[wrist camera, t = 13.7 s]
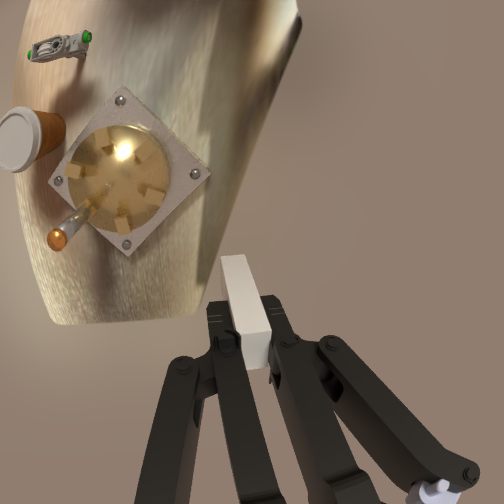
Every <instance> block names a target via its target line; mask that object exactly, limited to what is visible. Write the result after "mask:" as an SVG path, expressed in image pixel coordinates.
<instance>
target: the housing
mask: <svg viewBox="0 0 504 504" xmlns="http://www.w3.org/2000/svg"><path fill="white" fill-rule="evenodd" d="M114 125H132V126H136V127H139V128H142V129H144V130H146V131H147V132H149V133H150V134H152V135H153V136H154V137H155V138H156V139H157V140H158V141H159V143H160V144H161V145H162V147H163V149H164V150H165V153H166V155H167V158H168V161H169V166H170V184H169V188H168V191H167V194H166V197H165V199H164V201H163V203H162V205H161V207H160V208H159V210H158V211H157V213H156V214H155V215H154V216H153V217H152V219H150V220H149V221H148V222H147V223H145V224H144V225H142V226H141V227H139V228H136V229H134V230H133V231H132V232H131V234H125V235H120V236H119V235H118V232H110V231H105V230H102V229H99V228H97V227H95V226H94V225H92V224H91V223H90V224H91V225H92V226H93V227H94V228H95V229H96V230H98V231H99V232H100V233H101V234H102V235H103V236H104V237H105V238H107V239H108V240H109V241H110V242H111V243H112V244H113V245H115V246H116V247H117V248H118V249H119V250H120V251H122V252H123V253H124V254H125V255H126V256H127V257H129V256H130V255H131V254H132V253H133V252H134V251H135V250H136V249H137V247H138V246H139V245H140V244H141V243H142V242H143V241H144V240H145V239H146V238H147V237H148V236H149V235H150V234H151V233H152V231H153V230H154V229H155V228H156V227H157V226H158V225H159V224H160V223H161V222H162V221H163V220H164V219H165V218H166V217H167V216H168V215H169V214H170V213H171V212H172V211H173V210H174V209H175V208H176V207H177V206H178V205H179V204H180V203H181V202H182V201H183V200H184V199H185V198H186V197H187V196H188V195H189V194H190V193H191V192H193V191H194V190H195V189H196V188H197V187H198V186H199V185H200V184H201V183H202V182H203V181H204V180H205V179H206V178H207V177H209V176H210V175H211V170H210V169H209V168H208V167H207V166H206V165H205V164H204V163H203V162H202V161H201V160H200V159H199V158H198V157H197V156H196V155H195V154H194V153H193V152H192V151H191V150H190V149H189V148H188V147H187V146H186V145H185V144H184V143H183V142H182V141H181V140H180V139H179V138H178V137H177V136H176V135H175V134H174V133H173V132H172V131H171V130H170V129H169V128H168V127H167V126H166V125H165V124H164V123H163V122H162V121H161V120H160V119H159V118H158V117H157V116H156V115H155V114H154V113H152V112H151V111H150V110H149V109H148V108H147V107H146V106H145V105H144V104H143V103H142V102H141V101H140V100H139V99H138V98H137V97H136V96H135V95H134V94H133V93H132V92H131V91H130V90H129V89H128V88H127V87H124V86H121V87H120V88H119V89H118V90H117V91H116V92H115V93H114V94H113V95H112V96H111V97H110V99H109V100H108V101H107V102H106V103H105V104H104V105H103V107H102V108H101V109H100V110H99V111H98V112H97V114H96V115H95V116H94V117H93V118H92V120H91V121H90V122H89V123H88V125H87V126H86V127H85V129H84V130H83V131H82V132H81V134H80V135H79V136H78V138H77V139H76V140H75V142H74V143H73V145H72V146H71V147H70V149H69V150H68V152H67V153H66V155H65V156H64V157H63V159H62V160H61V162H60V163H59V165H58V167H57V168H56V170H55V171H54V173H53V174H52V176H51V178H50V179H49V181H48V183H49V184H50V185H51V186H52V187H53V188H54V189H55V190H56V191H57V192H58V193H59V194H60V195H61V196H62V197H63V198H64V199H65V200H66V201H67V202H68V203H69V204H70V205H71V206H72V207H73V208H74V209H75V210H76V207H75V206H74V204H73V202H72V199H71V197H70V193H69V189H68V176H65V175H64V173H65V168H66V163H67V162H68V161H71V158H72V156H73V154H74V152H75V150H76V149H77V147H78V146H79V144H80V143H81V142H82V141H83V140H84V139H85V138H86V137H87V136H89V135H90V134H91V133H93V132H94V131H95V130H98V129H101V128H104V127H108V126H114Z"/></svg>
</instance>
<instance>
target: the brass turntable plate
mask: <svg viewBox="0 0 504 504" xmlns="http://www.w3.org/2000/svg"><path fill="white" fill-rule="evenodd" d="M64 175H65V176H68V189H69V193H70V197H71V199H72V202H73V204H74V206H75V207H76V210H75V211H74V212H73V213H72V214H71V215H69V216H68V217H67V218H66V219H65V220H64V221H63V222H62V223H61V224H60V225H58V226H57V227H56V228H55V229H53V230H52V231H51V232H50V233H49V234H48V236H47V243H48V245H49V247H50V248H51V249H52V250H54V251H61V250H62V249H63V248H64V247H65V246H66V244H67V242H68V241H69V240H70V239H71V238H72V237H73V235H74V234H75V233H76V232H77V231H78V230H79V229H80V228H81V227H82V226H83V225H85V224H86V223H87V222H89V223H91V224H92V225H94V226H95V227H97V228H99V229H102V230H105V231H110V232H118V235H119V236H120V235H125V234H131V232H132V231H133V230H134V229H136V228H139V227H141V226H142V225H144V224H145V223H147V222H148V221H149V220H150V219H152V217H153V216H154V215H155V214H156V213H157V211H158V210H159V208H160V207H161V205H162V203H163V201H164V199H165V197H166V194H167V191H168V188H169V184H170V166H169V161H168V158H167V155H166V153H165V150H164V149H163V147H162V145H161V144H160V143H159V141H158V140H157V139H156V138H155V137H154V136H153V135H152V134H150V133H149V132H147V131H146V130H144V129H142V128H139V127H136V126H132V125H114V126H108V127H104V128H101V129H98V130H95V131H94V132H93V133H91V134H90V135H89V136H87V137H86V138H85V139H84V140H83V141H82V142H81V143H80V144H79V146H78V147H77V149H76V150H75V152H74V154H73V156H72V158H71V161H68V162H67V163H66V168H65V173H64Z"/></svg>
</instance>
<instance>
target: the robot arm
mask: <svg viewBox="0 0 504 504" xmlns="http://www.w3.org/2000/svg"><path fill="white" fill-rule="evenodd" d="M220 259H221V260H220V261H221V285H222V295H223V300H224V301H215V302H209V304H208V306H207V308H206V310H207V320H208V329H209V337H210V344H211V345H210V349H209V350H208V352H207V353H206V354H205V355H203V356H201V357H198V358H196V359H193V358H192V357H188V356H180V357H177V358H175V359H174V360H172V361H171V363H170V365H169V367H168V370H167V374H166V377H165V381H164V384H163V387H162V391H161V395H160V398H159V402H158V406H157V409H156V413H155V417H154V421H153V424H152V429H151V433H150V436H149V440H148V444H147V448H146V452H145V456H144V461H143V465H142V469H141V474H140V478H139V483H138V487H137V492H136V497H135V502H134V504H189V499H190V492H191V485H192V478H193V472H194V465H195V458H196V451H197V445H198V438H199V432H200V425H201V419H202V413H203V407H204V400H205V398H207V397H210V396H212V395H215V394H217V393H218V399H219V405H220V411H221V417H222V422H223V427H224V433H225V438H226V444H227V448H228V454H229V458H230V463H231V468H232V473H233V477H234V482H235V486H236V491H237V495H238V499H239V503H240V504H286V501H285V499H284V497H283V496H282V494H281V492H280V490H279V487H278V483H277V480H276V477H275V473H274V470H273V466H272V463H271V460H270V456H269V453H268V449H267V446H266V442H265V438H264V435H263V431H262V428H261V424H260V420H259V417H258V413H257V409H256V405H255V401H254V397H253V394H252V390H251V386H250V382H249V378H248V374H247V370H250V369H258V368H264V367H268V362H269V365H270V368H271V369H270V376H269V384H271V382H272V383H273V386H274V389H275V393H276V396H277V399H278V402H279V405H280V408H281V412H282V414H283V418H284V421H285V424H286V427H287V430H288V433H289V436H290V439H291V442H292V445H293V449H294V452H295V455H296V457H297V461H298V463H299V467H300V470H301V472H302V476H303V479H304V481H305V484H306V487H307V490H308V502H309V504H386V503H383V502H381V501H380V499H379V497H378V495H377V493H376V490H375V488H374V486H373V483H372V481H371V479H370V477H369V475H368V474H367V473H366V472H365V471H363V470H361V469H359V467H358V466H357V464H356V461H355V459H354V457H353V455H352V452H351V450H350V448H349V445H348V443H347V441H346V439H345V436H344V434H343V432H342V430H341V427H340V425H339V423H338V420H337V418H336V416H335V413H336V414H337V415H338V417H339V418H340V419H341V420H342V421H343V423H344V424H345V425H346V427H347V428H348V429H349V430H350V431H351V433H352V434H353V435H354V436H355V438H356V439H357V440H358V441H359V443H360V444H361V445H362V446H363V447H364V449H365V450H366V451H367V452H368V454H369V455H370V456H371V457H372V458H373V460H374V461H375V462H376V463H377V464H378V466H379V467H380V468H381V469H382V470H383V472H384V473H385V474H386V475H387V476H388V477H389V479H390V480H391V481H392V482H393V483H394V484H395V485H396V486H398V487H399V488H400V489H402V490H403V491H405V492H407V493H408V496H407V497H406V503H407V504H456V503H457V500H458V498H459V496H460V494H461V492H462V491H465V490H467V489H469V488H471V487H473V486H474V485H475V484H476V483H477V481H478V479H479V476H480V469H479V467H478V465H477V464H476V463H475V462H473V461H471V460H468V459H466V458H464V457H461V456H459V455H457V454H455V453H453V452H451V451H448V450H447V449H445V448H444V447H443V446H442V445H441V444H440V443H439V442H438V441H437V439H436V438H435V437H434V436H433V435H432V434H431V433H430V432H429V431H428V430H427V429H426V428H425V427H424V426H423V425H422V423H421V422H420V421H419V420H418V419H417V418H416V417H415V416H414V415H413V414H412V413H411V412H410V411H409V410H408V408H407V407H406V406H405V405H404V404H403V403H402V402H401V401H400V400H399V399H398V398H397V397H396V396H395V395H394V394H393V392H391V390H390V389H389V388H388V387H387V386H386V385H385V384H384V383H383V382H382V381H381V380H380V379H379V378H378V377H377V376H376V374H375V373H374V372H373V371H372V370H371V369H370V368H369V367H368V366H367V365H366V364H365V363H364V362H363V361H362V360H361V359H360V358H359V357H358V355H357V354H356V353H355V352H354V351H353V350H352V349H351V348H350V347H349V346H348V345H347V344H346V343H345V342H344V341H343V340H342V339H341V338H339V337H337V336H334V335H328V336H324V337H323V338H321V339H320V341H319V342H314V341H306V340H303V339H301V338H300V337H299V336H298V335H297V334H295V333H294V332H293V330H292V327H291V325H290V323H289V321H288V318H287V316H286V314H285V311H284V309H283V308H282V305H281V303H280V300H279V299H278V298H276V297H275V296H274V295H267V296H259V294H258V291H257V288H256V285H255V282H254V280H253V277H252V274H251V271H250V268H249V266H248V263H247V260H246V257H245V255H244V254H242V255H229V256H221V257H220ZM333 410H334V411H335V413H334V411H333Z"/></svg>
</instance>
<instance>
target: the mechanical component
mask: <svg viewBox="0 0 504 504" xmlns="http://www.w3.org/2000/svg"><path fill="white" fill-rule="evenodd" d="M91 40H92V34H91V32H88V31H87V30H84V31H81V32H80V33H79V34H75V35H72V36H69V35H66V36H62V35H56V36H54V37H52V38H49V39H46V40H44V41H41V42H38V43H35V44H33V45H32V50H30V51H29V52H28V59H29V60H30V61H31V62H39V63H45V62H49V61H53V60H56V59H59V58H63V57H66V58H71V57H75V58H78V59H84V58H85V57H86V56H85V54H86V51H88V47H89V42H91ZM46 42H53V43H46ZM43 43H46V44H43ZM42 44H43V45H42Z"/></svg>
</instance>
